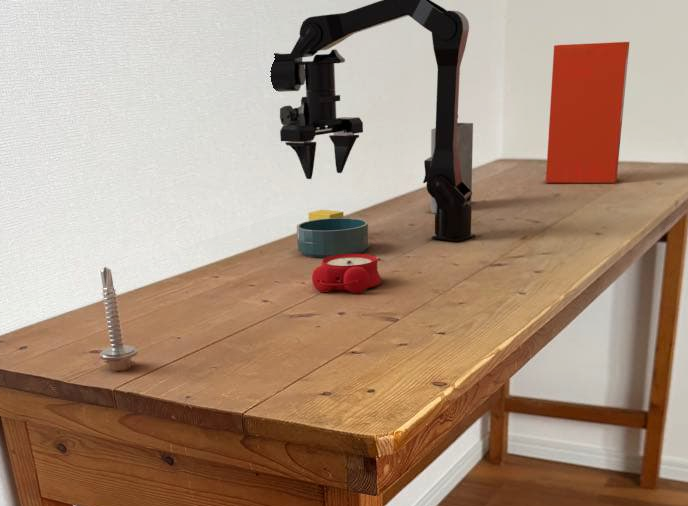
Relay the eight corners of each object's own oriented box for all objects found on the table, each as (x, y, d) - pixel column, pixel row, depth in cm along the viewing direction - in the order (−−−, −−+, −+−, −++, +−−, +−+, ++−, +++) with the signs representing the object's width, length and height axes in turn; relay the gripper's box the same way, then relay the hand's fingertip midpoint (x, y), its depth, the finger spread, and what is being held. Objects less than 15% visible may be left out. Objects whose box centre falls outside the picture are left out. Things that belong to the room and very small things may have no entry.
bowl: (382, 248, 183) (382, 221, 181) (336, 261, 174) (335, 233, 172) (330, 241, 191) (329, 215, 189) (284, 254, 183) (282, 227, 180)
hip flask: (440, 213, 214) (441, 117, 205) (424, 212, 216) (425, 117, 207) (473, 202, 225) (475, 110, 216) (458, 201, 227) (460, 111, 218)
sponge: (344, 236, 195) (343, 211, 193) (330, 240, 192) (329, 214, 190) (323, 234, 199) (322, 209, 196) (309, 237, 196) (308, 212, 194)
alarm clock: (389, 254, 160) (365, 252, 146) (387, 292, 161) (364, 294, 148) (330, 253, 163) (302, 251, 149) (330, 291, 164) (301, 292, 151)
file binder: (549, 179, 253) (558, 44, 238) (616, 179, 247) (629, 41, 232) (545, 183, 246) (553, 45, 231) (614, 183, 241) (627, 42, 225)
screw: (95, 372, 122) (113, 361, 126) (128, 374, 120) (145, 363, 124) (77, 270, 116) (97, 262, 120) (113, 271, 114) (131, 262, 118)
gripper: (321, 87, 193) (325, 168, 201) (257, 94, 181) (263, 180, 189) (363, 86, 187) (365, 170, 194) (299, 94, 175) (304, 183, 182)
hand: (324, 175), depth 190 cm, fingers open, 9 cm apart
